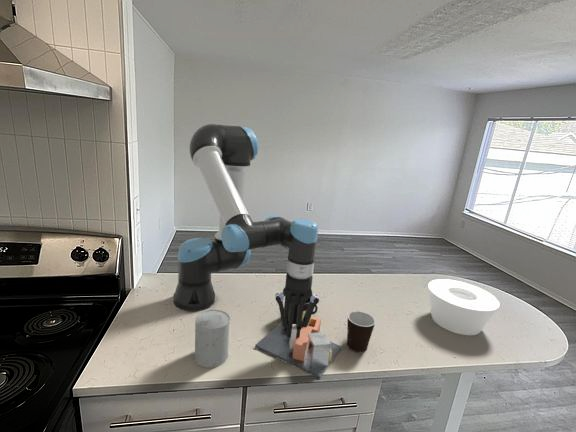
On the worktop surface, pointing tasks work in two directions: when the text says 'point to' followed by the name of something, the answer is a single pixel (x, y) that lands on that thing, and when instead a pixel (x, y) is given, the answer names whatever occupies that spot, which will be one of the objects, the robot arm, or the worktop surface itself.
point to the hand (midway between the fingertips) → (292, 345)
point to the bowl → (461, 306)
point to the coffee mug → (359, 330)
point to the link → (305, 339)
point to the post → (303, 317)
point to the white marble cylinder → (211, 338)
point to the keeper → (320, 349)
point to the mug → (286, 309)
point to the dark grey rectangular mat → (280, 348)
